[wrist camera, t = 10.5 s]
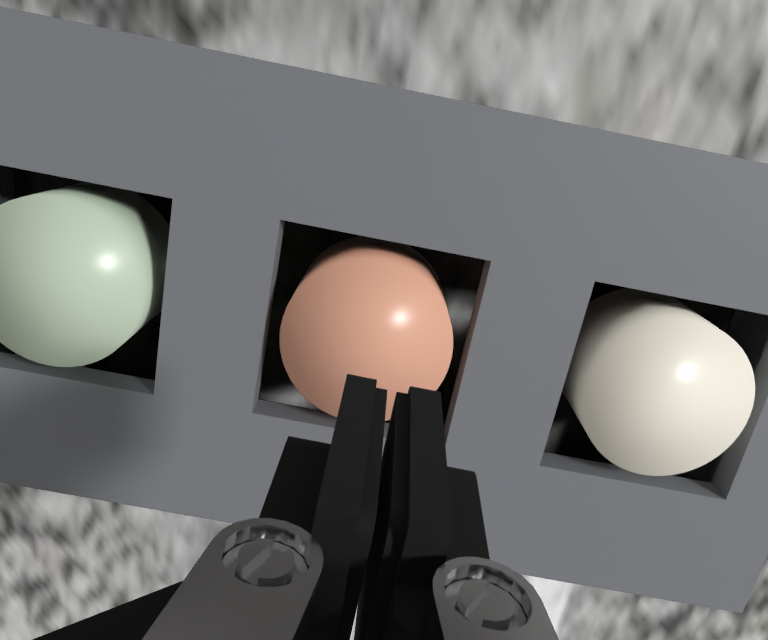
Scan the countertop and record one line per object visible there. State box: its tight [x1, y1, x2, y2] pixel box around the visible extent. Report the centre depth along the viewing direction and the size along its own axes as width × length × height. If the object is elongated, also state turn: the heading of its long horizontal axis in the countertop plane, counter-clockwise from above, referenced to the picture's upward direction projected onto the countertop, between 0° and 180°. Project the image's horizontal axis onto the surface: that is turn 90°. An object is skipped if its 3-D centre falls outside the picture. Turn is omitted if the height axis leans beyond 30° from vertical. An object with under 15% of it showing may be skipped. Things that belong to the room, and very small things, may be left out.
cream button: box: [562, 288, 755, 476], centre depth 21 cm, size 5×5×4 cm
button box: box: [0, 7, 768, 613], centre depth 22 cm, size 28×14×5 cm, turn 79°
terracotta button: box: [280, 236, 453, 421], centre depth 21 cm, size 5×5×4 cm
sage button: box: [0, 182, 170, 367], centre depth 21 cm, size 5×5×4 cm
